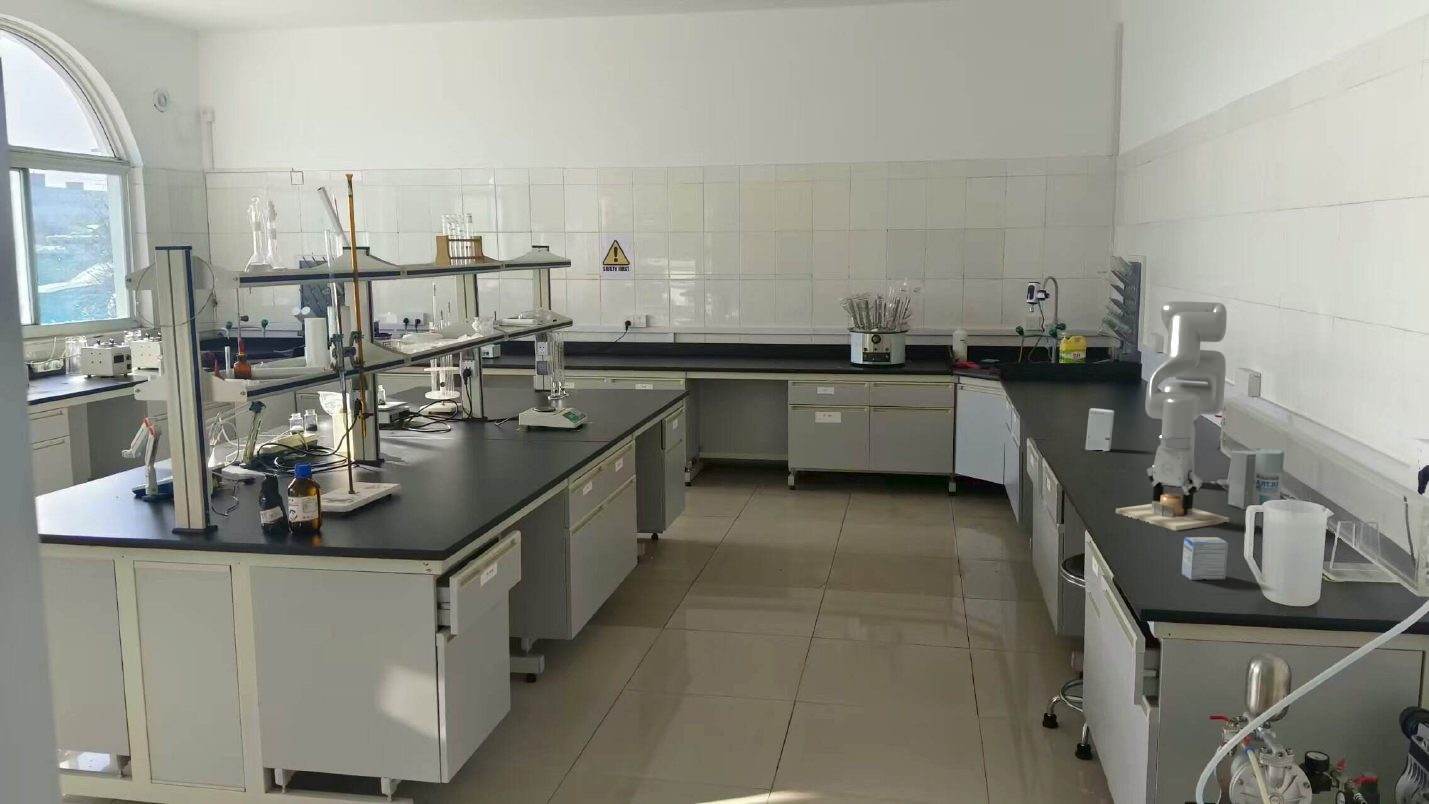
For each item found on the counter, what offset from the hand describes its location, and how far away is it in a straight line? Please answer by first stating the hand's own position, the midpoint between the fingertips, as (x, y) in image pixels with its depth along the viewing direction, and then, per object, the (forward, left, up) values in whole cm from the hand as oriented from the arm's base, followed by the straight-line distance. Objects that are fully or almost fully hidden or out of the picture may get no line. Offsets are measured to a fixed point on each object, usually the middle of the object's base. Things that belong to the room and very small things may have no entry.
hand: (1172, 504), depth 282 cm
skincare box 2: (0, +30, -4) cm, 30 cm away
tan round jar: (0, 0, -2) cm, 2 cm away
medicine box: (+40, -36, -4) cm, 54 cm away
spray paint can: (+16, +16, -4) cm, 23 cm away
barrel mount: (0, 0, -4) cm, 4 cm away
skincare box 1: (-80, +55, -4) cm, 97 cm away
